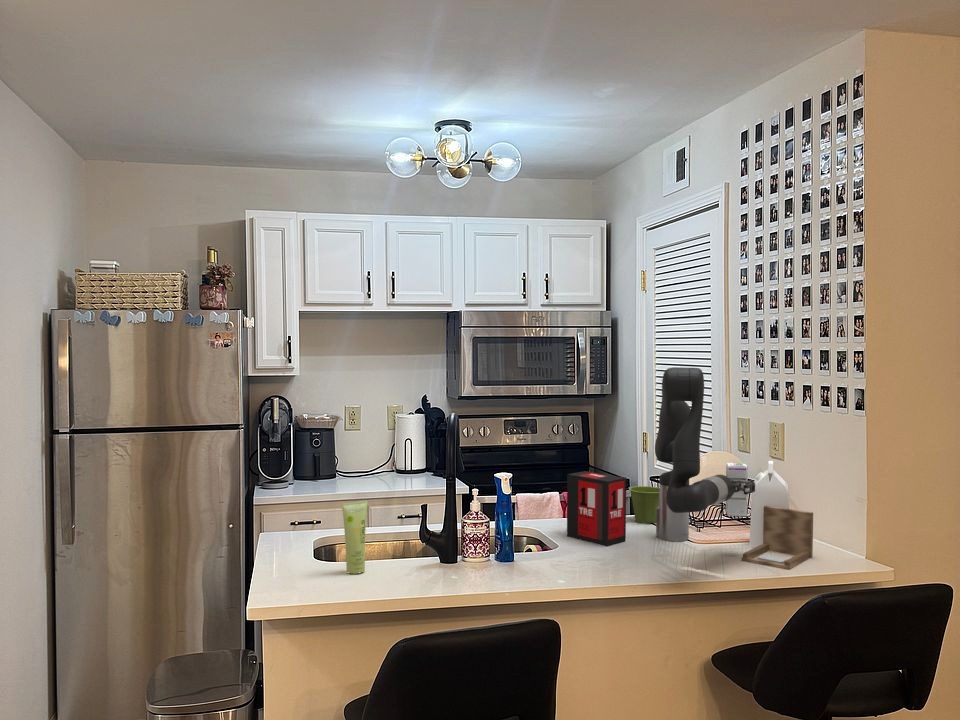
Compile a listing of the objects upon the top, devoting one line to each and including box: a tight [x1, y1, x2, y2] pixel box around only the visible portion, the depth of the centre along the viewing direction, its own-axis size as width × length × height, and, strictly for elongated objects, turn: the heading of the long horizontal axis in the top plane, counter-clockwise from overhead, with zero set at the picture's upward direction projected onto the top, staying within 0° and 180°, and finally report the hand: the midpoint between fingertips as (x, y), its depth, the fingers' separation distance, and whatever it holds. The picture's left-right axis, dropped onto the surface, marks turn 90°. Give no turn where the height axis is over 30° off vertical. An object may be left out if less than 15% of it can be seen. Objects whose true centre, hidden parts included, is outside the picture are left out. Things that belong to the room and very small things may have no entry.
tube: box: [341, 499, 369, 574], centre depth 234 cm, size 6×5×20 cm
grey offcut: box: [756, 553, 789, 564], centre depth 241 cm, size 7×4×1 cm, turn 46°
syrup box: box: [725, 462, 749, 517], centre depth 247 cm, size 6×6×14 cm
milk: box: [748, 460, 790, 548], centre depth 260 cm, size 12×12×26 cm
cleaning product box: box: [566, 470, 627, 547], centre depth 270 cm, size 16×9×20 cm, turn 42°
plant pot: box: [628, 485, 659, 525], centre depth 293 cm, size 12×12×11 cm
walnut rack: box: [740, 506, 814, 571], centre depth 243 cm, size 14×17×14 cm
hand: (739, 482), depth 248 cm, fingers closed on syrup box, 7 cm apart
